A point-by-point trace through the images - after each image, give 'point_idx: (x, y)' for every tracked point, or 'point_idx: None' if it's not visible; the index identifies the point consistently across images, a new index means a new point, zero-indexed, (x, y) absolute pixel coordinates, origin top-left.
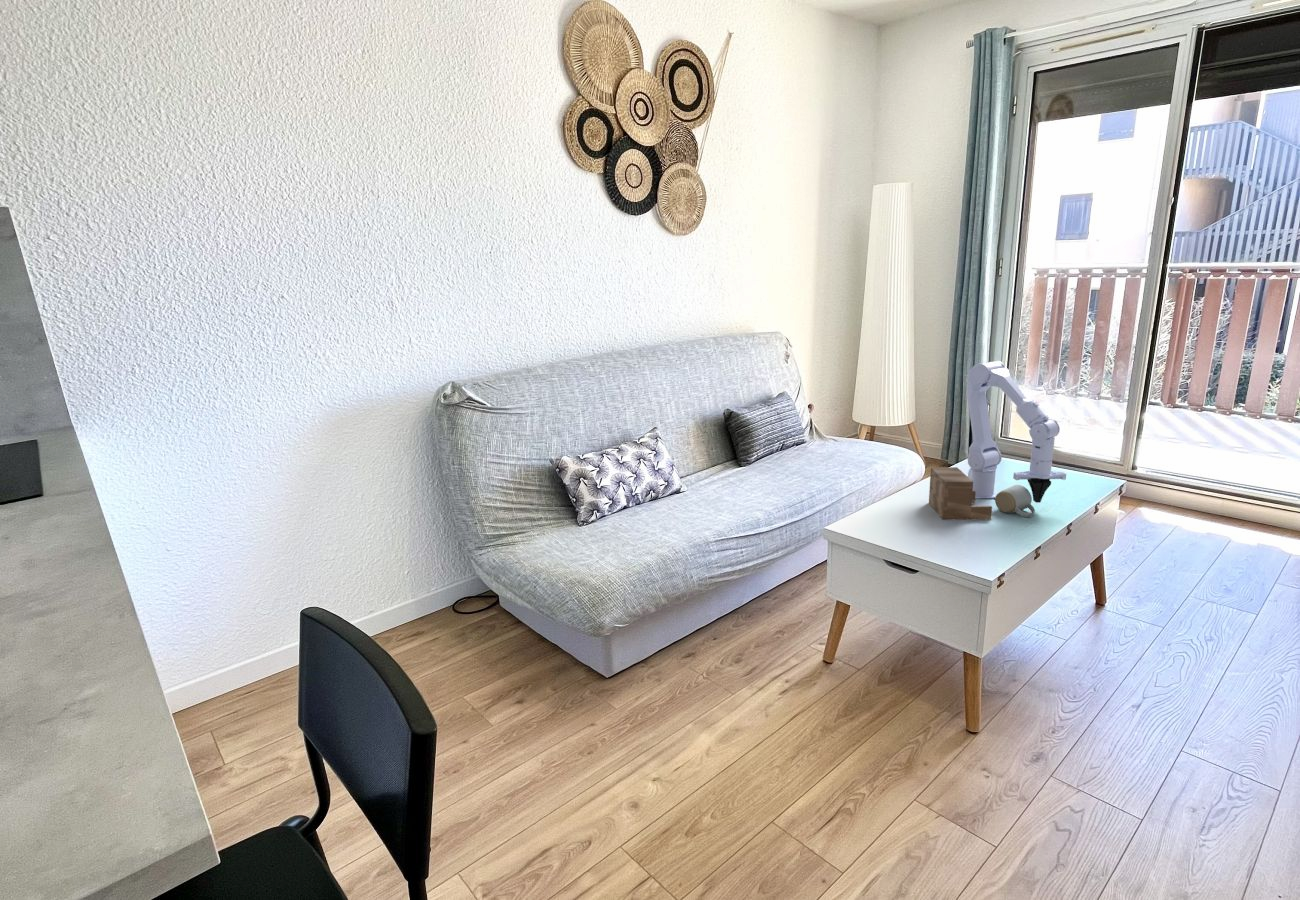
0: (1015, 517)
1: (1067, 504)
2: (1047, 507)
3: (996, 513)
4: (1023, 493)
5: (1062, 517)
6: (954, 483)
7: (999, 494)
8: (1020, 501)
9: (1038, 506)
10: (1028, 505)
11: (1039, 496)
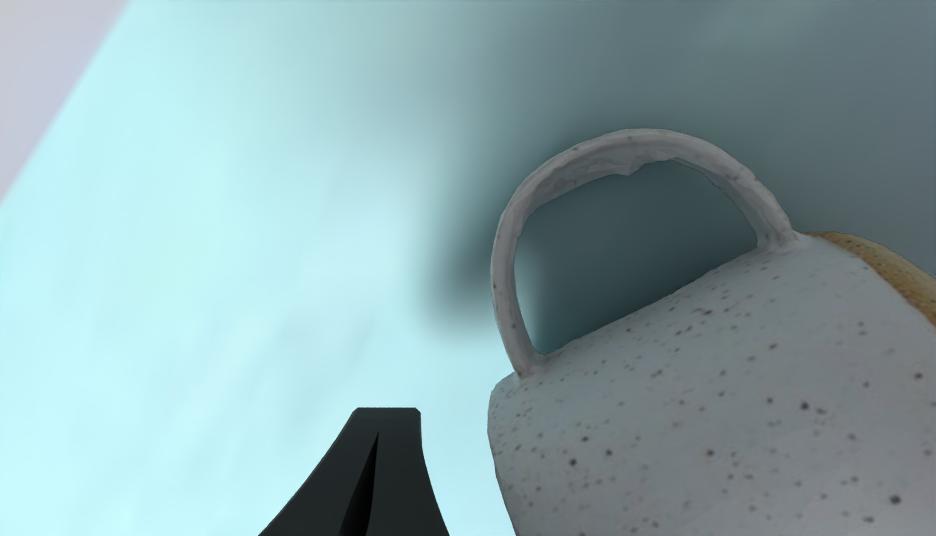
0: (781, 133)
1: (15, 507)
2: (243, 440)
3: None
4: (684, 505)
5: (152, 118)
6: None
7: None
8: (764, 322)
9: None
10: (535, 359)
11: (367, 474)
